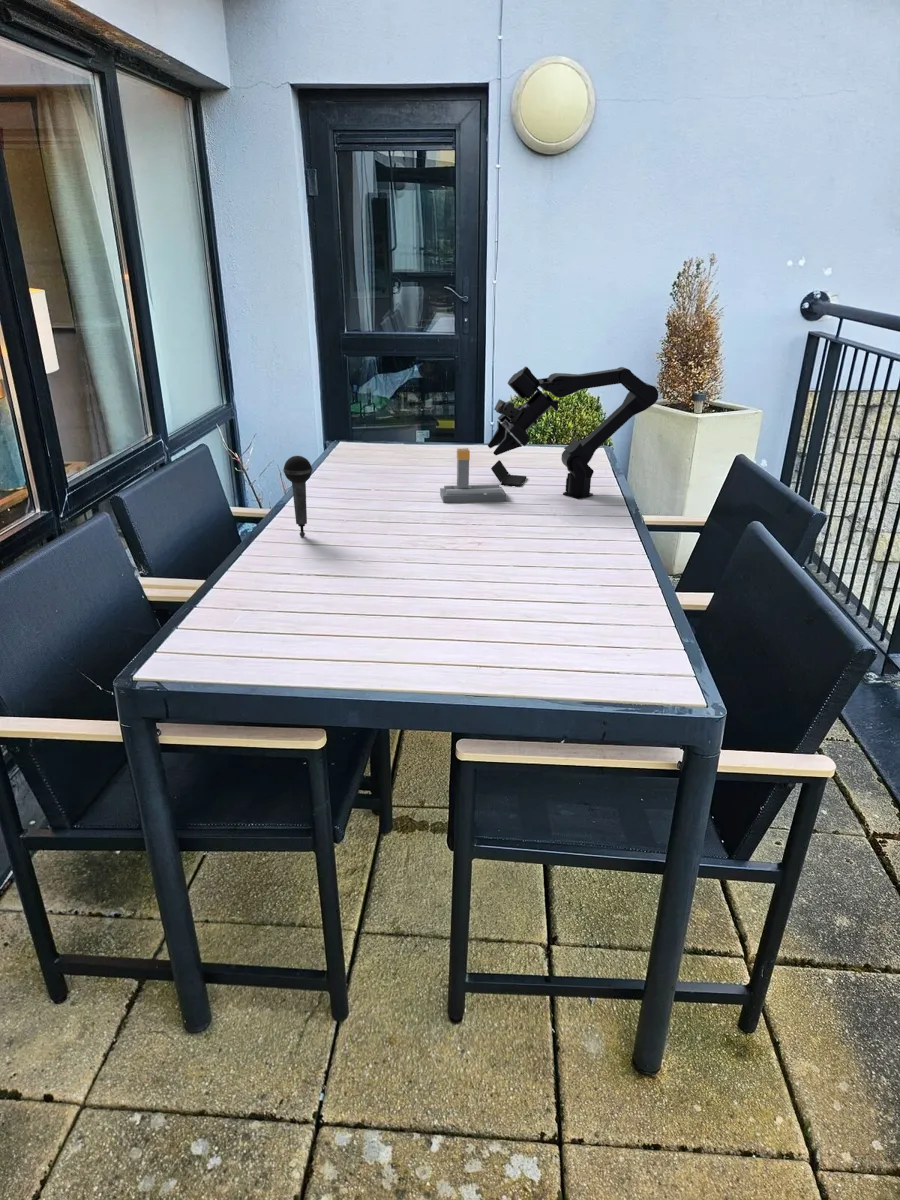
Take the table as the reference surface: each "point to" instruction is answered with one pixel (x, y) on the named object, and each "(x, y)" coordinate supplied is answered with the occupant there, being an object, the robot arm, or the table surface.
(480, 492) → the fader track
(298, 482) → the microphone
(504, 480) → the handheld gaming console
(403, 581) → the table surface
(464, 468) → the block
